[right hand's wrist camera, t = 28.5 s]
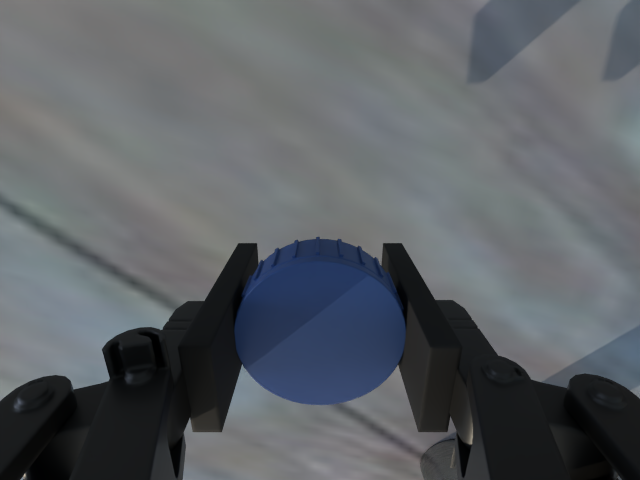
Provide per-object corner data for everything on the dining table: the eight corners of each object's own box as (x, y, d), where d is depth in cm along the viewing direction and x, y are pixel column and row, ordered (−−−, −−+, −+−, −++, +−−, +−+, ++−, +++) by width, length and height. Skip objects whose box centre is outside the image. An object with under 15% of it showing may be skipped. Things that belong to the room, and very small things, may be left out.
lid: (301, 204, 11) (297, 222, 9) (428, 292, 12) (446, 323, 10) (215, 321, 12) (199, 355, 11) (335, 390, 14) (337, 430, 12)
